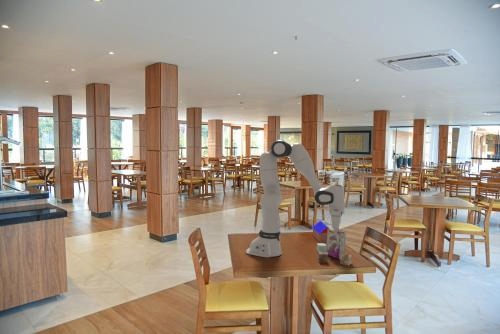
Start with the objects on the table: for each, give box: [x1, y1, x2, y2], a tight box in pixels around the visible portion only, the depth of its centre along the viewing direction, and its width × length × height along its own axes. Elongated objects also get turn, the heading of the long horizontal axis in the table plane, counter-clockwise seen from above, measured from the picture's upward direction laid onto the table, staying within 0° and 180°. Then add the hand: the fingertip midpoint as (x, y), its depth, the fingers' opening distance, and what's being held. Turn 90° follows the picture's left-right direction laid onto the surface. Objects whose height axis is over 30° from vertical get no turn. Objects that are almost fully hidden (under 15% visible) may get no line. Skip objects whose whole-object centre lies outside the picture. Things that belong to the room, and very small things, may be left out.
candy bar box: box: [326, 227, 346, 260], centre depth 210 cm, size 11×5×16 cm, turn 31°
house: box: [312, 220, 331, 244], centre depth 251 cm, size 12×20×12 cm, turn 3°
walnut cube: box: [318, 252, 329, 264], centre depth 202 cm, size 5×5×5 cm
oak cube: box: [339, 253, 353, 267], centre depth 198 cm, size 5×5×5 cm
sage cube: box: [316, 242, 327, 254], centre depth 220 cm, size 5×5×5 cm
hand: (336, 232), depth 210 cm, fingers open, 8 cm apart
